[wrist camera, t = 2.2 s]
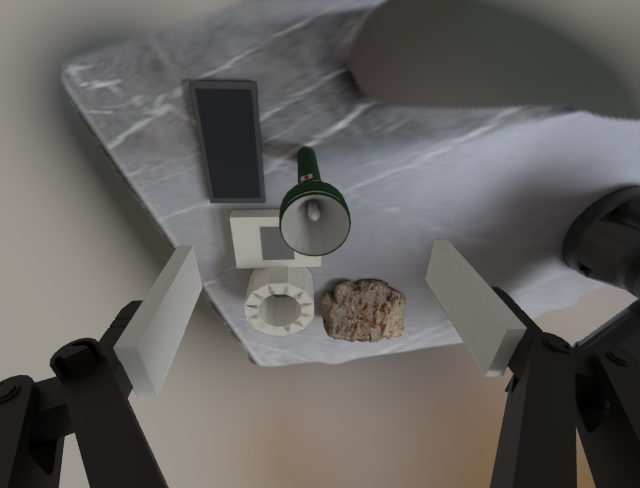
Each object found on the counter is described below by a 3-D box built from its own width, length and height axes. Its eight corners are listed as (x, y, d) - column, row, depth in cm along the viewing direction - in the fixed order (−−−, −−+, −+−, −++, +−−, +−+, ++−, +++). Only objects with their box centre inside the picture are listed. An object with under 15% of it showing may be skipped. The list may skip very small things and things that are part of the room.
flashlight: (319, 127, 36) (341, 181, 19) (331, 167, 39) (359, 246, 22) (279, 141, 37) (266, 205, 20) (293, 179, 39) (293, 266, 22)
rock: (314, 319, 53) (316, 345, 48) (327, 272, 48) (330, 295, 43) (396, 327, 55) (406, 353, 50) (416, 283, 50) (429, 307, 45)
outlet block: (320, 208, 42) (324, 230, 36) (318, 304, 51) (321, 333, 45) (232, 209, 41) (223, 232, 35) (246, 306, 50) (240, 337, 44)
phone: (256, 81, 34) (255, 82, 33) (265, 199, 41) (264, 202, 40) (191, 80, 33) (188, 81, 32) (212, 200, 40) (210, 203, 39)
